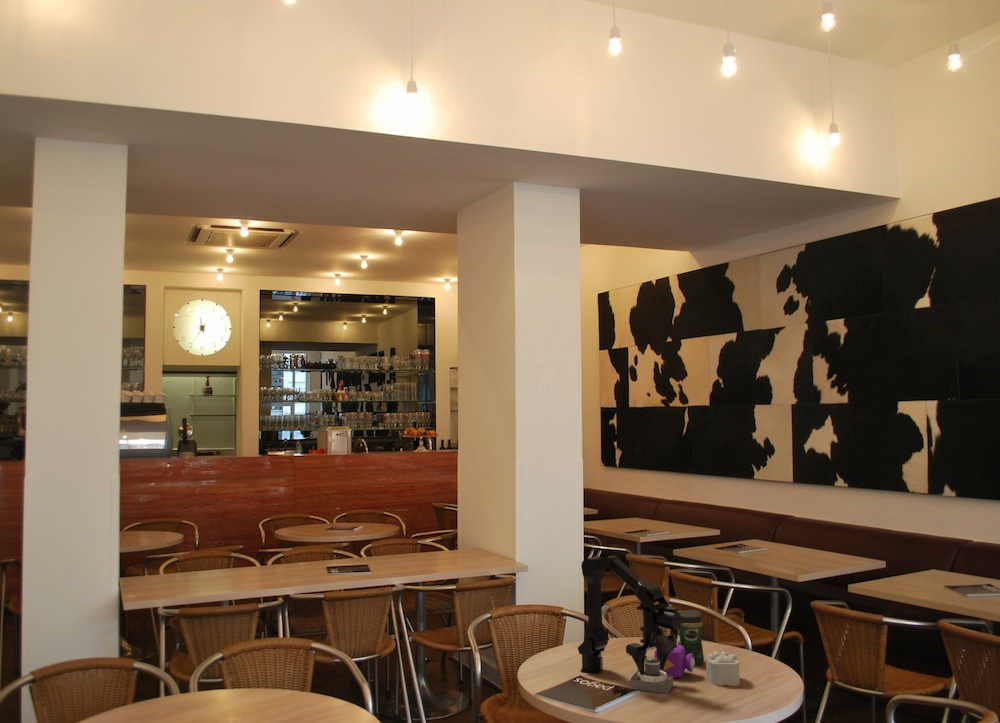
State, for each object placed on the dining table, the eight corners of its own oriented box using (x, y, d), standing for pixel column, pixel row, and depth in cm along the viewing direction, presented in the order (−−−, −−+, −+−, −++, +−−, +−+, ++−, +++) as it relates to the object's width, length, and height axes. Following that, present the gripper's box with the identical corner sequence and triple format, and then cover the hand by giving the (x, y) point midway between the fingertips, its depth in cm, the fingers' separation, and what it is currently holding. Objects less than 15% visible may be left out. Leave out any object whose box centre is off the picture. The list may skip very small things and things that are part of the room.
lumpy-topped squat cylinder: (710, 685, 277) (710, 659, 278) (703, 673, 290) (702, 648, 291) (742, 686, 277) (741, 659, 277) (733, 673, 290) (732, 648, 290)
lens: (652, 681, 273) (652, 662, 273) (641, 677, 277) (641, 658, 277) (663, 678, 276) (663, 659, 276) (652, 674, 280) (652, 655, 280)
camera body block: (631, 688, 275) (630, 674, 275) (638, 680, 283) (638, 667, 283) (667, 693, 270) (666, 679, 270) (673, 685, 278) (673, 671, 278)
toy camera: (695, 680, 283) (694, 650, 283) (654, 678, 285) (654, 648, 286) (694, 670, 293) (694, 642, 294) (655, 668, 296) (654, 640, 296)
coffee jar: (701, 659, 307) (699, 608, 308) (705, 665, 299) (704, 613, 300) (674, 659, 307) (673, 608, 308) (678, 665, 299) (677, 613, 300)
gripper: (648, 634, 266) (649, 684, 265) (688, 625, 276) (689, 673, 275) (624, 627, 275) (625, 675, 274) (664, 618, 285) (664, 664, 284)
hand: (652, 672), depth 277 cm, fingers open, 9 cm apart
